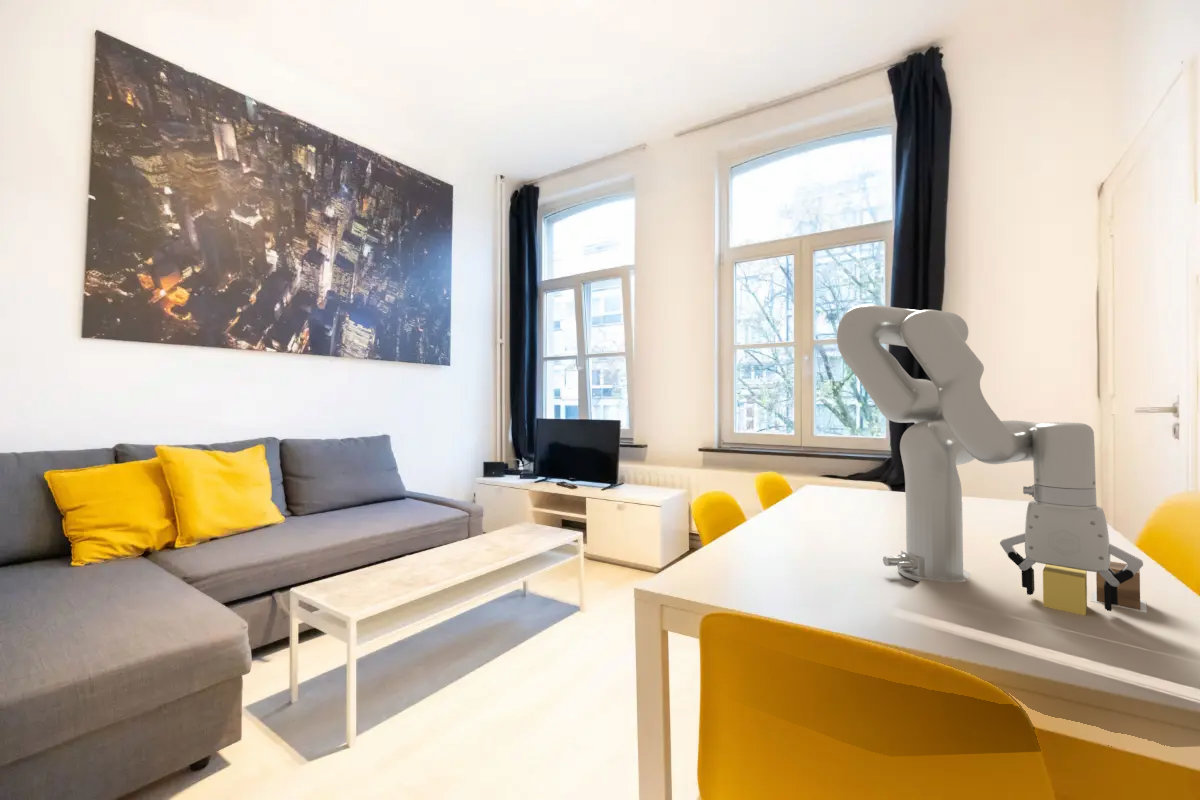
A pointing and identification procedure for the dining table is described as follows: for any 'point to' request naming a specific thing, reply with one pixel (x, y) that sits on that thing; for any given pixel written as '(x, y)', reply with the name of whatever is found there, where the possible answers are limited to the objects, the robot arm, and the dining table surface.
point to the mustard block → (1065, 589)
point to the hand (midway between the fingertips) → (1067, 600)
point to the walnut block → (1122, 588)
